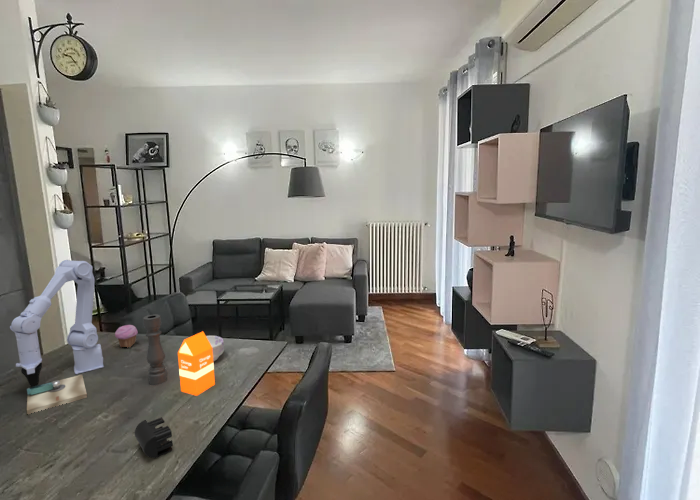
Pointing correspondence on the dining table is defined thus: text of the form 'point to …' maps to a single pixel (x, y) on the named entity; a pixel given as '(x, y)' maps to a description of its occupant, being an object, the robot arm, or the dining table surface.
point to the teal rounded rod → (43, 387)
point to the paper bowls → (216, 346)
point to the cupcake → (126, 335)
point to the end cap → (154, 438)
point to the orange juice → (196, 364)
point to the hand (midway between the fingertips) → (34, 385)
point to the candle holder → (155, 350)
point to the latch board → (58, 395)
